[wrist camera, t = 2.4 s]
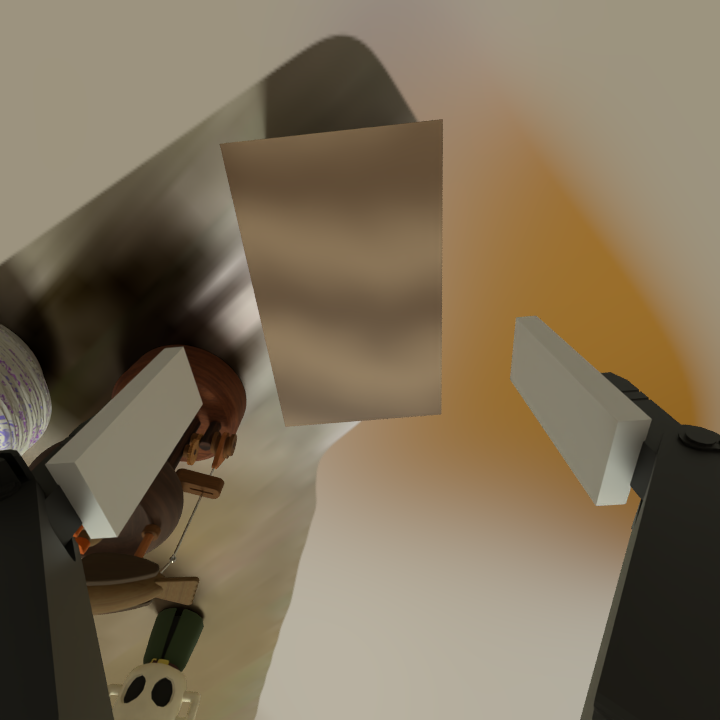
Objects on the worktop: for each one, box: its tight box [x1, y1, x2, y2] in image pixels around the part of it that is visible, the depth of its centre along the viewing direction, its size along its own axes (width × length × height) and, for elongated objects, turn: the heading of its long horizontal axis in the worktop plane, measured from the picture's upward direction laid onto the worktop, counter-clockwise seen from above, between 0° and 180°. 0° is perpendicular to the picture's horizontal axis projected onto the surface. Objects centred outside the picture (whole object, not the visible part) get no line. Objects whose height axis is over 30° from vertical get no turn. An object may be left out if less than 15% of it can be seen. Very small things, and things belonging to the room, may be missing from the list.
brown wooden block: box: [220, 119, 443, 427], centre depth 25 cm, size 16×10×10 cm, turn 5°
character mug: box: [107, 608, 204, 720], centre depth 47 cm, size 11×7×13 cm, turn 78°
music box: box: [28, 345, 246, 615], centre depth 27 cm, size 15×11×20 cm
